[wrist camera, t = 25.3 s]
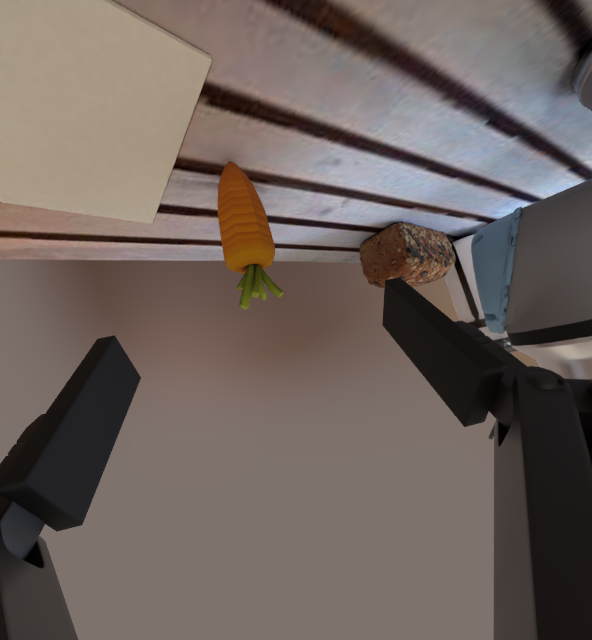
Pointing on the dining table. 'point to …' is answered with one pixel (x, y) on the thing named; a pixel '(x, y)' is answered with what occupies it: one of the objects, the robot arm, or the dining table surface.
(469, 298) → the coffee press
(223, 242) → the carrot
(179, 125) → the napkin
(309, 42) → the dining table surface
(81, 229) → the dining table surface
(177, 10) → the dining table surface
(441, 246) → the bread
